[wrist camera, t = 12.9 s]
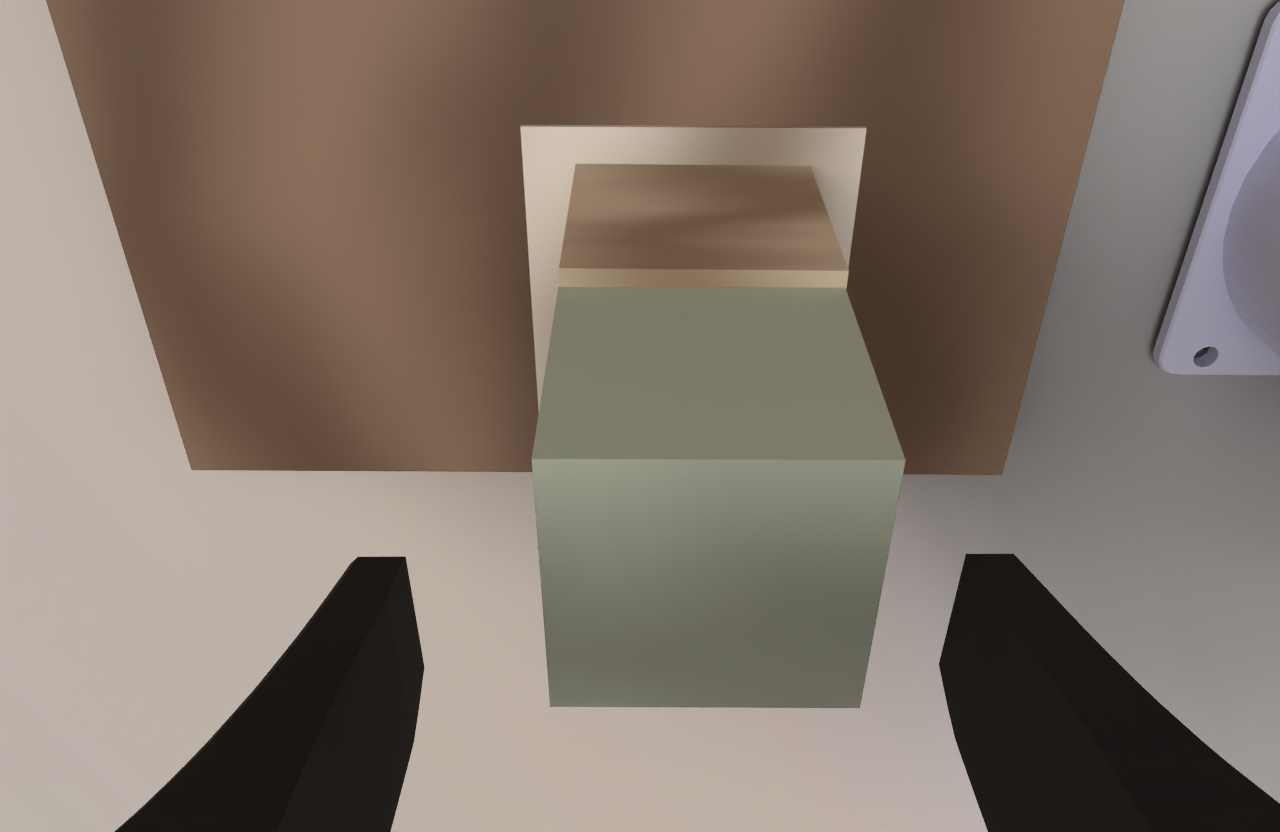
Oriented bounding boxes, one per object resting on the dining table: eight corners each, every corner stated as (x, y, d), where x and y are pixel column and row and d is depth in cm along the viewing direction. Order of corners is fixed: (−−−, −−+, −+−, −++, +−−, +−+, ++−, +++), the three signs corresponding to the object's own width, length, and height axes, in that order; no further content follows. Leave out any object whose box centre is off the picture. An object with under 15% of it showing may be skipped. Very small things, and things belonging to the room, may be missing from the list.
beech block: (810, 165, 19) (848, 271, 16) (789, 365, 22) (818, 497, 18) (575, 164, 19) (558, 268, 16) (581, 364, 22) (568, 494, 18)
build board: (1292, -782, 13) (1339, -818, 12) (989, 449, 25) (1003, 477, 24) (-156, -786, 13) (-214, -822, 12) (206, 444, 25) (189, 472, 24)
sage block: (845, 287, 16) (906, 460, 12) (817, 509, 18) (859, 707, 15) (558, 286, 16) (532, 459, 12) (569, 508, 18) (550, 706, 15)
